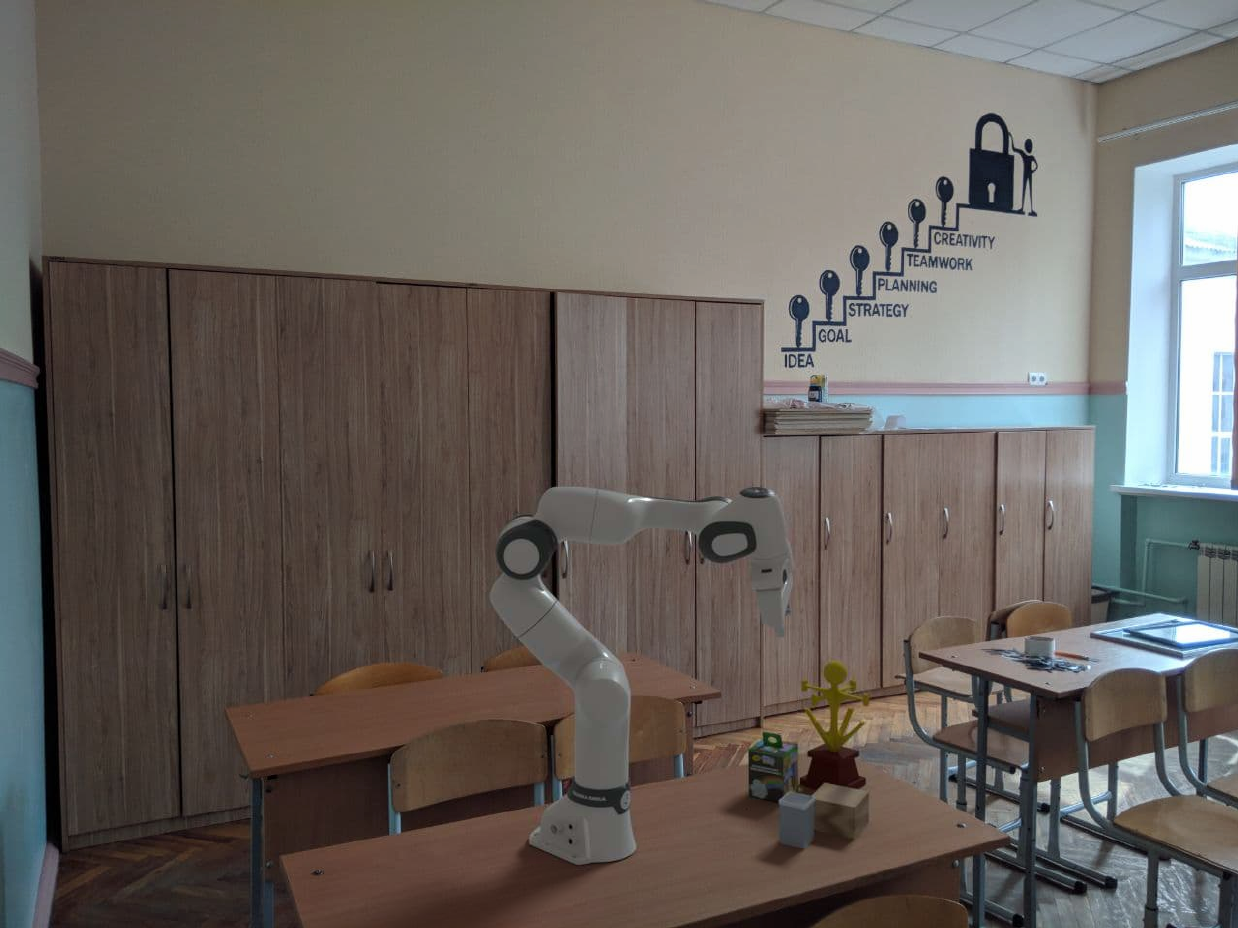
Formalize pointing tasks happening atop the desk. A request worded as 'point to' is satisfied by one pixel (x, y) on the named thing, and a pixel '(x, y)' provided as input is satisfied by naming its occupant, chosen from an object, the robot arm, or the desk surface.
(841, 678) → the trophy
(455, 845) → the desk surface
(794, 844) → the lidded storage box
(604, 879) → the desk surface
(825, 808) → the walnut box
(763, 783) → the chalk box
